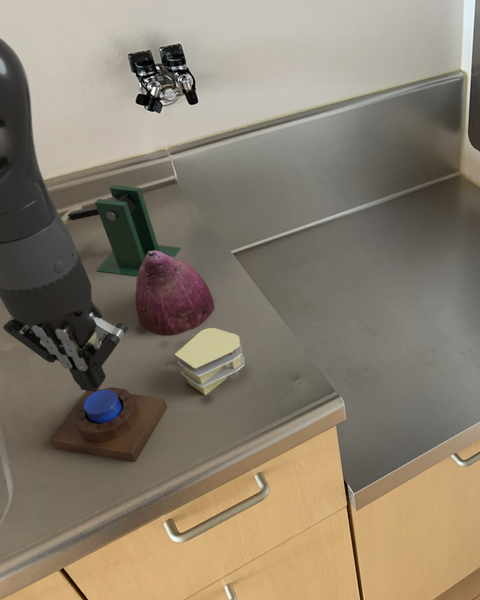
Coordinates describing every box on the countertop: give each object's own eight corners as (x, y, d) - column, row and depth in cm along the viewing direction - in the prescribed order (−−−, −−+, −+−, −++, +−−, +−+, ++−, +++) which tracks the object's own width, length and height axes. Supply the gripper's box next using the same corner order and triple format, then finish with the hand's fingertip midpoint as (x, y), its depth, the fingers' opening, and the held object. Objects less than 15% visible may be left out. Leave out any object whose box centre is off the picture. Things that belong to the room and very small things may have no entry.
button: (82, 421, 70) (77, 411, 69) (99, 397, 73) (94, 387, 71) (111, 425, 69) (106, 416, 68) (127, 401, 72) (123, 391, 71)
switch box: (55, 448, 71) (43, 430, 68) (92, 396, 77) (83, 377, 74) (135, 462, 69) (126, 443, 67) (167, 407, 75) (160, 389, 73)
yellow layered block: (209, 417, 74) (200, 387, 71) (163, 383, 78) (152, 353, 75) (269, 369, 80) (264, 339, 77) (224, 339, 84) (216, 310, 81)
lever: (61, 232, 92) (51, 219, 90) (79, 214, 96) (70, 201, 94) (125, 220, 88) (115, 206, 87) (141, 201, 92) (133, 188, 90)
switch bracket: (98, 276, 94) (70, 206, 86) (125, 246, 100) (100, 177, 92) (159, 284, 93) (136, 213, 85) (182, 253, 99) (163, 184, 91)
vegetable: (205, 354, 87) (188, 296, 74) (132, 344, 86) (102, 283, 74) (224, 294, 92) (212, 230, 80) (156, 284, 92) (132, 218, 80)
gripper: (120, 245, 59) (164, 368, 70) (-5, 231, 60) (59, 353, 72) (76, 295, 53) (132, 420, 64) (-60, 278, 55) (18, 402, 66)
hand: (93, 385), depth 68 cm, fingers closed
